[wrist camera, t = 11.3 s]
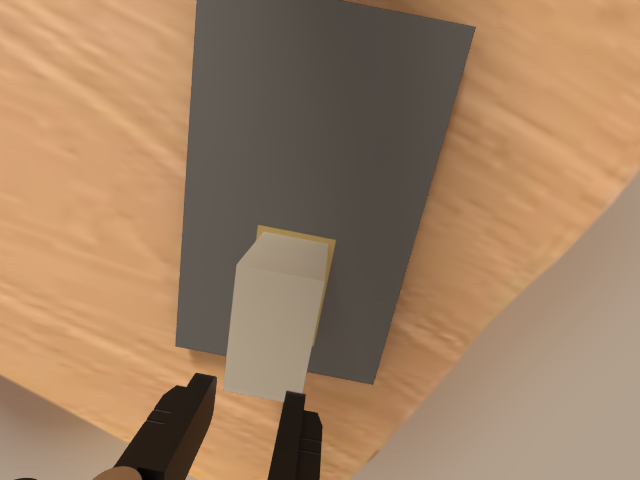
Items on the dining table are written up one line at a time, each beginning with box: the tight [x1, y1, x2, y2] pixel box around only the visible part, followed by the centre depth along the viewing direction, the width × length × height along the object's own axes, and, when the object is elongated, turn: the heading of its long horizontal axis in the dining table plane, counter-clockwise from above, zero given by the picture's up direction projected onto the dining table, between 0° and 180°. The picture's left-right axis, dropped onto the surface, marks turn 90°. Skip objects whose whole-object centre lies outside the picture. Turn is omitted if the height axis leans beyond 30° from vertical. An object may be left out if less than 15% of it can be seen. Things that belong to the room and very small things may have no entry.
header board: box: [175, 0, 476, 385], centre depth 18 cm, size 22×14×6 cm, turn 169°
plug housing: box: [223, 232, 328, 402], centre depth 18 cm, size 7×4×6 cm, turn 170°
